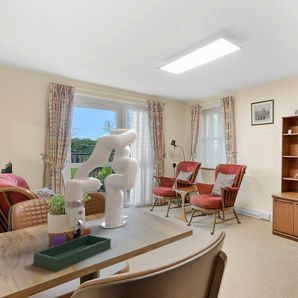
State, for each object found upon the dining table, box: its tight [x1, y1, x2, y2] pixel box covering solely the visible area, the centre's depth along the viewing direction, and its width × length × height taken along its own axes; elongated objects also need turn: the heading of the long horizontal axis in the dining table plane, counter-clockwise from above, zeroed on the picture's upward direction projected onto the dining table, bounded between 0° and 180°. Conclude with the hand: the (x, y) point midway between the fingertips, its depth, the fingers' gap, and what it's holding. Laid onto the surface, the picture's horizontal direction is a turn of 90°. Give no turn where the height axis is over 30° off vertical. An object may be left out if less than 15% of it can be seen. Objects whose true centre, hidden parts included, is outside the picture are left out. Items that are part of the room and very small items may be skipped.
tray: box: [32, 233, 112, 272], centre depth 100 cm, size 23×14×5 cm, turn 161°
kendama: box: [49, 227, 92, 247], centre depth 115 cm, size 6×6×20 cm
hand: (72, 239), depth 115 cm, fingers closed on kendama, 5 cm apart
